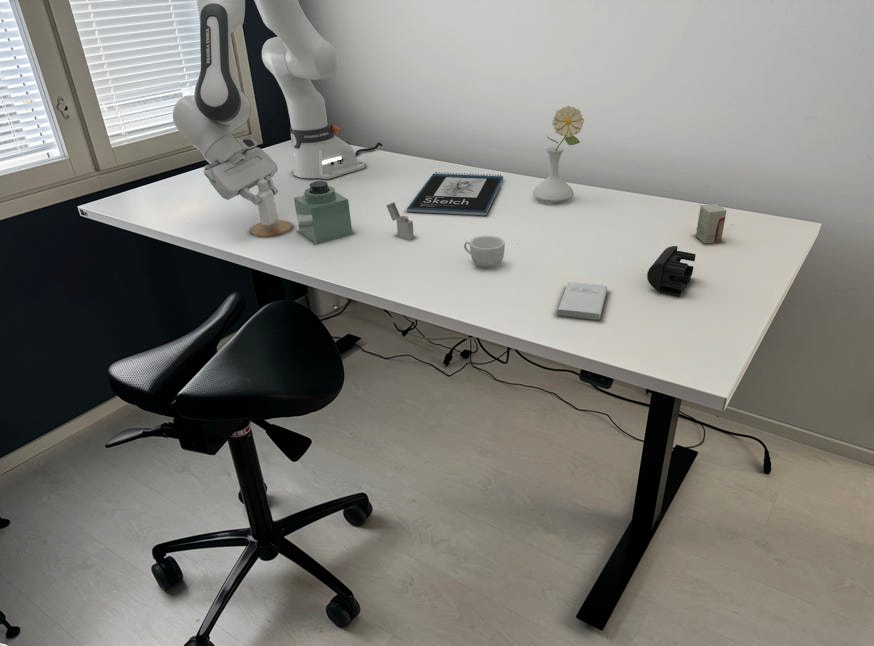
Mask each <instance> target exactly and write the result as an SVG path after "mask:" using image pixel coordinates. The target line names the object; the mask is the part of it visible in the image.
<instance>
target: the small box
mask: <svg viewBox="0 0 874 646" xmlns="http://www.w3.org/2000/svg"><path fill="white" fill-rule="evenodd" d="M727 211H728V210H726V209H725V208H724V207H722V206H721V205H719V203H711V204H709V203H708V204H701V205H700V207H699V212H698V213H699V214H698V219H697V225H696V226H697V227H696V232H695V237H696V238H697V239H699V240H700V241H701V242H702V243H704V244H713V243H721V242H722V239H723V233H724V228H725V222H726V216H727Z"/></svg>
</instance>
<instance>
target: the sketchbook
mask: <svg viewBox="0 0 874 646" xmlns="http://www.w3.org/2000/svg"><path fill="white" fill-rule="evenodd" d="M503 181H504V176H503V175H502V174H495V173H494V174H491V173H489V174H488V173H486V174H485V173H479V174H478V173H470V172H468V173H465V172H464V173H460V172H441V171H440V172H438V171H436V172H434V173H432V174H431V176H430V177H429V178H428V180H427V181H426V182H425V184H424V185H423V186H422V188H421V189H420V190H419V191H418V194H416V196H415V197H414V199H413V200H412V201H411V202H410V204H409V205H408V206H407V208H406V209H407V210H406V211H407V213H414V214H415V213H416V214H434V215H435V214H436V215H457V216H476V217H477V216H478V217H487V214H488V212H489V210H490V209H491V206H492V204H493V202H494V200H495V198H496V196H497V193H498V192H499V190H500V187H501V185H502V183H503Z"/></svg>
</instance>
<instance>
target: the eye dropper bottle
mask: <svg viewBox="0 0 874 646" xmlns="http://www.w3.org/2000/svg"><path fill="white" fill-rule="evenodd" d="M257 183H258V185H257V189H258V192H257V194H256V195H258V196H259V197H260V198H261V199H262V201H261V203H260V204H258V205H257V208H258V213H259V218H260V223H261V224H262V225H264V226H270V225H272V224H274V223H276V222H277V220H279V217H278V210H277V205H276V200H275V195H273V191H272V190H270V189H269V188H268V182H267V181H266V180H264V178H263V176H260V180H259V181H258V182H257Z"/></svg>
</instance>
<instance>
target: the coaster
mask: <svg viewBox="0 0 874 646" xmlns="http://www.w3.org/2000/svg"><path fill="white" fill-rule="evenodd" d="M291 230H292V224H291V222H289V221H288V220H287V221H286V220H283V219H282V220H281V219H278V220H277V222H276V223H274V224H272V225H270V226H264V225H262V224H261V222H259V223H257V224H255V225H253V226H252V227H251V234H252V235H253V236H255V237H262V238H269V237H277V236H282V235H284V234H287V233H288V232H290V231H291Z"/></svg>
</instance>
